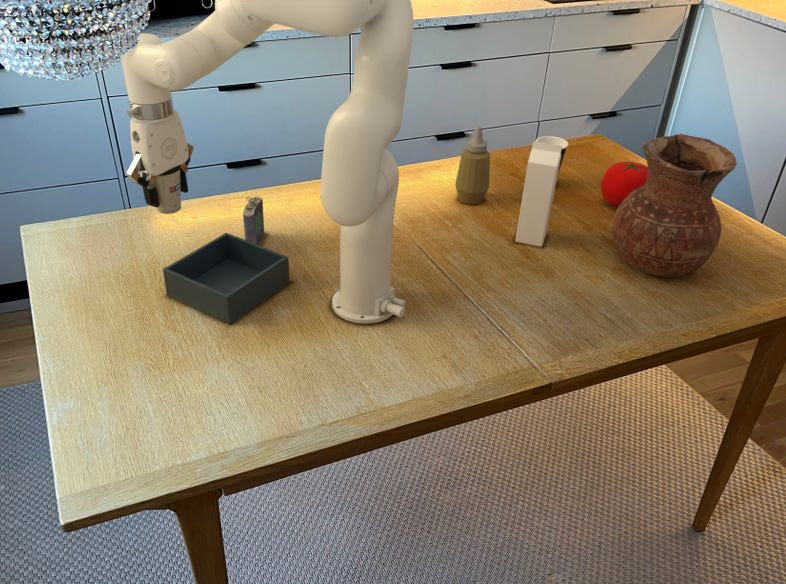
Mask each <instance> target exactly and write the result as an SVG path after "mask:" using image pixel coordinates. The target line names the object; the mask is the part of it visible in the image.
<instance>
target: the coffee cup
mask: <svg viewBox="0 0 786 584" xmlns="http://www.w3.org/2000/svg"><path fill="white" fill-rule="evenodd" d="M180 168H181V165H179V166H177V167H174V168H172V169H170V170H168V171H166V172H164V173H162V174H160V175H157V176H156V177H155V182H154V187H155V188H157V193H158V198H159V204H160V205H159V207H157V208H156V211H157V212H158V213H160V214H163V215H171V214H176V213H178V212H179V211H180V210H181V209H182V193H181V189H180ZM148 177H149V174H147V178H146V180H148Z"/></svg>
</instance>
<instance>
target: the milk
mask: <svg viewBox="0 0 786 584" xmlns="http://www.w3.org/2000/svg"><path fill="white" fill-rule="evenodd" d="M561 149H562V147H561V146H558V145H552V144H545V143H539V142H536V141H533V143H532V146H531V150H530V154H529V158H528V160H527V167H526V171H525V179H524V186H523V192H522V197H521V204H520V208H519V216H518V220H517V221H518V222H517V226H516V227H517V228H516V234H515V239H514V241H515V243H520V244H523V245H529V246H535V247H543V245H544V242H545V239H546V237H547V234H548V233H547V232H548V227H549V222H550V218H551V211H552V206H553V201H554V196H555V190H556V185H557V180H558V177H557V176H559V173H558V170H559V165H560V160H561ZM559 171H560V170H559Z"/></svg>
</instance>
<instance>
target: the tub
mask: <svg viewBox="0 0 786 584" xmlns="http://www.w3.org/2000/svg"><path fill="white" fill-rule="evenodd" d="M289 261H290V259H289V256H287V255H285V254H282V253H280V252H277V251H274V250H272V249H270V248H267V247H265V246H262V245H260V246H259V245H257V244H254V243H252V242H249V241H246V240H245V238H241V237H238V236H236V235H233V234H231V233H228V232H225V233H223V234H221V235H219V236H218V237H216V238H214V239H213V240H211V241H209V242H207V243H206V244H204V245H202V246H201V247H199V248H197V249H195V250H193V251H192V252H190V253H188V254H187V255H184V256H183V257H181V258H179V259H178V260H176V261H174V262H173V263H170V264H169V265H168V266H167V265H166V267H164V268H162V274H163V280H164V285H165V291H166V296H167V297H168V298H171V299H173V300H174V301H177V302H180V303H182V304H184V305H185V306H188V307H190V308H193V309H195V310H197V311H200V312H202V313H204V314H205V315H208V316H210V317H212V318H215V319H217V320H218V321H221V322H223V323H226V324H228V325H231V324H233V323H234V322H236V321H237V320H239V319H240V318H241V317H243V316H244V315H246V314H247V313H249V312H250V311H252V310H253V309H254V308H256V307H257V306H258V305H260V304H261V303H263V302H264V301H266V300H267V299H269V298H270V297H272V296H274V295H275V294H276V293H278V292H279V291H280V290H282V289H283V288H285V287H286V286H287V285H289V284H290V282H291V280H290V278H291V277H290V262H289Z"/></svg>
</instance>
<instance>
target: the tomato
mask: <svg viewBox="0 0 786 584" xmlns="http://www.w3.org/2000/svg"><path fill="white" fill-rule="evenodd" d="M647 175H648V165H646V164H643V163H640V162H635V161H633V160H631V161H621V162H620V161H619V162H617V163H614V164H611V166H610V167H608V168H607V169H606V171H605V172H604V174H603V177H602V179H601V183H600V190H601V195H602V197H603V199H604V200H605V201H606V202H607V203H608V204H609V205H611V206H612V207H614V208H617V209H618V207H619V205H620V204H621V203H622V201H623V200H624V199H625V198H626V197H627V196H628V195H629V194H630V193H631V192H633V191H634V190H636V189H637V188H639V187H641V186H643V185H644V184H645V183H646V180H647Z"/></svg>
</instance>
